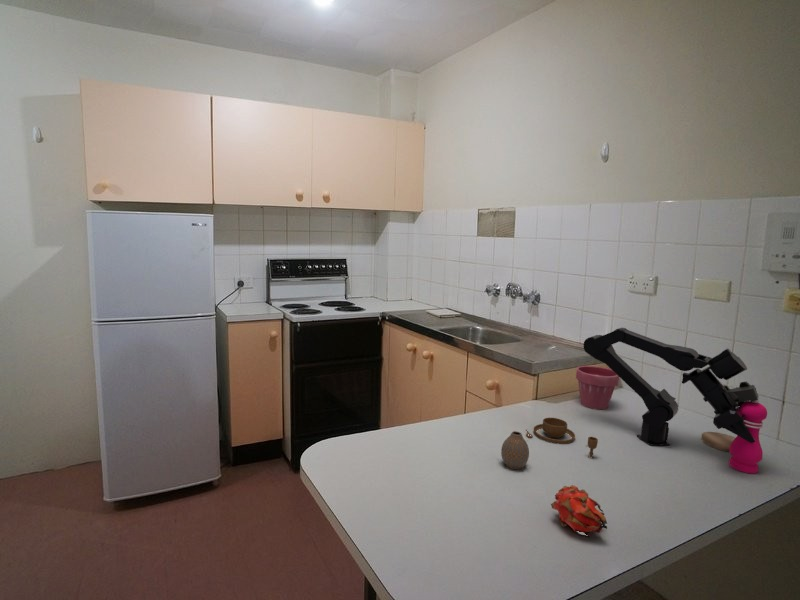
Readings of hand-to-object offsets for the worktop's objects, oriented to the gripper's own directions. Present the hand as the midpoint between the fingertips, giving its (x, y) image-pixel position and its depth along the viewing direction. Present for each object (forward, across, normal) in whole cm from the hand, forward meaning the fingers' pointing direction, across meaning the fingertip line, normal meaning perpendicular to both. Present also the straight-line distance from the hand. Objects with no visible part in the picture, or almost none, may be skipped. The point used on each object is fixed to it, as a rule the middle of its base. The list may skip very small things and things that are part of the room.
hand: (754, 439), depth 124 cm
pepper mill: (+5, 0, +7) cm, 9 cm away
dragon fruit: (-11, -60, +23) cm, 65 cm away
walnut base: (+1, +14, +12) cm, 18 cm away
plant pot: (-27, +19, +40) cm, 51 cm away
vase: (-26, -45, +39) cm, 65 cm away
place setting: (-24, -22, +38) cm, 50 cm away
